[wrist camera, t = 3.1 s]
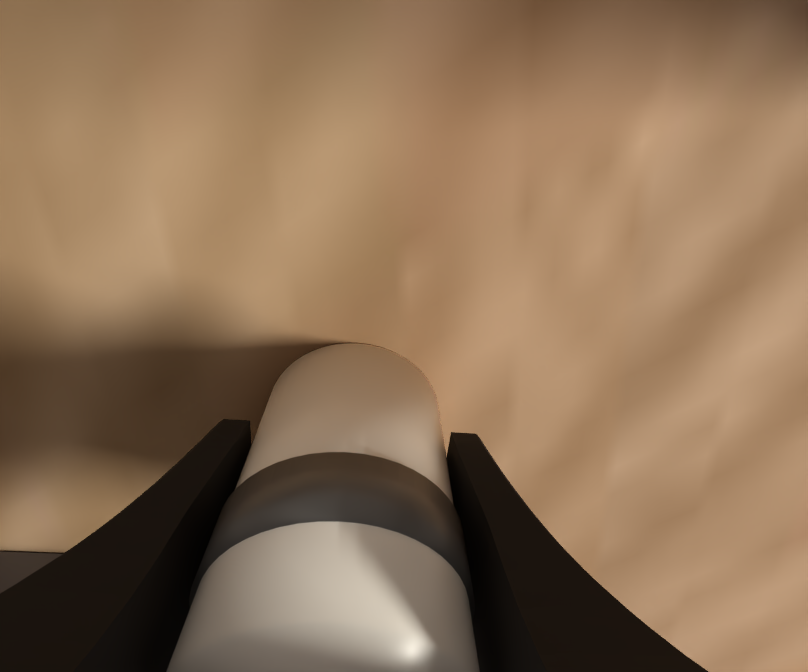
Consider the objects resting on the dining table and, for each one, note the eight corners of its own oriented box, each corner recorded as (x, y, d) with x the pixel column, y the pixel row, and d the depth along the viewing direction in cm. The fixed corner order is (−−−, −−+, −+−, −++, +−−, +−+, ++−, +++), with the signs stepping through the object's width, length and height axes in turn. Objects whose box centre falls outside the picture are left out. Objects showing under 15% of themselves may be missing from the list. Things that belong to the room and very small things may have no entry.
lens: (454, 346, 12) (524, 622, 6) (431, 487, 14) (464, 794, 8) (261, 333, 12) (120, 610, 6) (267, 478, 14) (172, 793, 8)
